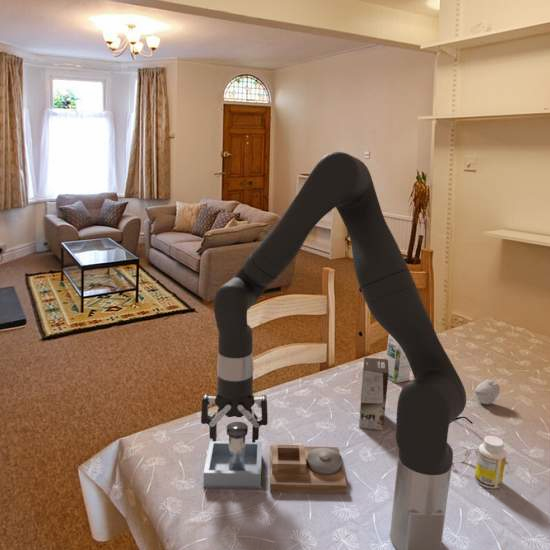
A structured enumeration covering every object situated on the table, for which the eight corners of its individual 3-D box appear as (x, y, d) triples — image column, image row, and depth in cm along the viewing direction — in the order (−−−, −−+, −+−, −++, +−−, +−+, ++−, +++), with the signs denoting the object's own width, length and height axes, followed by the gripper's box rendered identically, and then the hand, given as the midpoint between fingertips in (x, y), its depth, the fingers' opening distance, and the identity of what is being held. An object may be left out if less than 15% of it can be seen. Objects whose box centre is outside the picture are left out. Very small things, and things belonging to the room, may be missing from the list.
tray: (260, 488, 110) (260, 474, 109) (203, 487, 110) (203, 472, 109) (261, 455, 121) (261, 441, 120) (209, 454, 121) (209, 440, 120)
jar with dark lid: (246, 475, 113) (247, 433, 111) (225, 474, 113) (225, 432, 110) (247, 462, 118) (248, 421, 115) (227, 462, 117) (227, 421, 115)
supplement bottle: (493, 473, 117) (499, 433, 115) (506, 489, 112) (513, 447, 109) (469, 474, 117) (475, 433, 114) (481, 490, 111) (488, 448, 109)
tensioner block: (346, 493, 109) (347, 474, 108) (270, 492, 109) (270, 473, 108) (337, 454, 123) (339, 437, 121) (270, 453, 122) (270, 435, 121)
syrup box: (383, 376, 165) (387, 333, 161) (398, 373, 167) (402, 330, 164) (394, 383, 160) (399, 339, 156) (410, 380, 162) (414, 337, 159)
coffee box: (383, 431, 133) (389, 373, 129) (358, 427, 135) (362, 370, 131) (383, 413, 142) (388, 358, 138) (359, 410, 143) (364, 356, 139)
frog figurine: (502, 406, 148) (506, 383, 146) (483, 410, 146) (486, 387, 144) (487, 396, 154) (490, 374, 152) (468, 400, 151) (471, 378, 149)
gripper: (198, 378, 106) (199, 449, 110) (269, 380, 106) (266, 450, 110) (203, 363, 113) (203, 430, 117) (269, 365, 113) (267, 431, 117)
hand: (234, 440), depth 113 cm, fingers open, 8 cm apart
